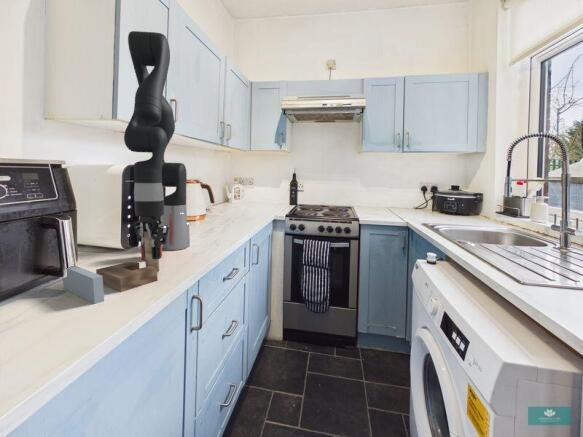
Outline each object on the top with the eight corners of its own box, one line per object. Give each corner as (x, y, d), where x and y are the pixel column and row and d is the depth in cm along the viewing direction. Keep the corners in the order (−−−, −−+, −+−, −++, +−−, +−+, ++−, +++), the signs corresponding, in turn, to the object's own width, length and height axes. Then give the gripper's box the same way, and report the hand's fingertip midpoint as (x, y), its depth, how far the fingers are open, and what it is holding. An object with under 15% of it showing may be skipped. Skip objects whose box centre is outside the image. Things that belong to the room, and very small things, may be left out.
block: (133, 272, 89) (132, 260, 89) (157, 280, 83) (156, 268, 83) (97, 281, 81) (96, 269, 81) (121, 291, 75) (120, 278, 74)
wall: (72, 285, 78) (70, 263, 77) (104, 300, 70) (102, 276, 69) (63, 288, 76) (61, 265, 75) (94, 303, 68) (92, 278, 67)
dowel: (154, 268, 90) (152, 229, 89) (161, 271, 89) (159, 231, 87) (143, 271, 87) (141, 231, 86) (150, 274, 86) (148, 233, 84)
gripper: (176, 199, 84) (178, 258, 87) (146, 196, 92) (149, 251, 94) (152, 201, 78) (155, 265, 81) (122, 198, 85) (125, 256, 88)
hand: (152, 257), depth 87 cm, fingers closed on dowel, 3 cm apart
